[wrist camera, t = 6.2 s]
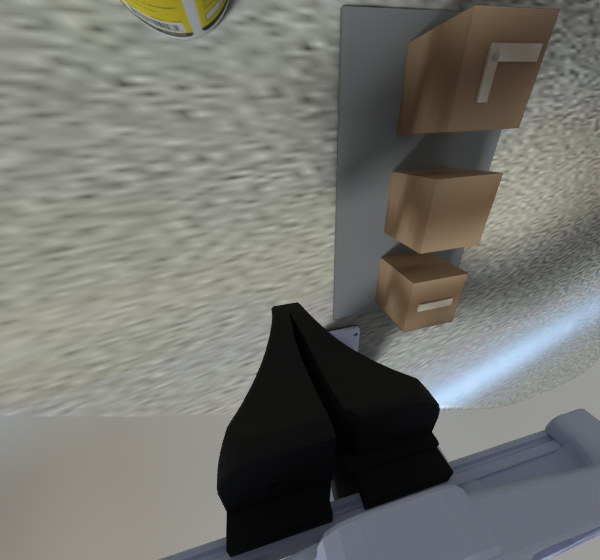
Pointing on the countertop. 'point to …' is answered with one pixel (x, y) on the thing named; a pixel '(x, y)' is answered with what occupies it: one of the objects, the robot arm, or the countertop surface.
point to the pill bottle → (178, 16)
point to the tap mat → (383, 146)
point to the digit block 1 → (418, 289)
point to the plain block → (439, 207)
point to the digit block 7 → (474, 70)
